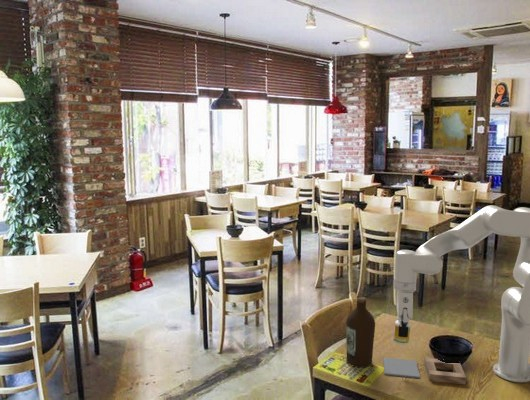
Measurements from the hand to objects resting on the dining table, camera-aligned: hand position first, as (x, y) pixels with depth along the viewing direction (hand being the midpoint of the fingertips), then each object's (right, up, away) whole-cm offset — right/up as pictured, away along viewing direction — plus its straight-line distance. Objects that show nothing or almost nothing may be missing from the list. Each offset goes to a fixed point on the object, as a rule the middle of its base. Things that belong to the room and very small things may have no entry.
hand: (402, 332), depth 170 cm
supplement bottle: (0, -4, +1) cm, 4 cm away
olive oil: (-14, -13, +7) cm, 21 cm away
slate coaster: (0, -14, +2) cm, 14 cm away
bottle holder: (+15, -14, -2) cm, 20 cm away
